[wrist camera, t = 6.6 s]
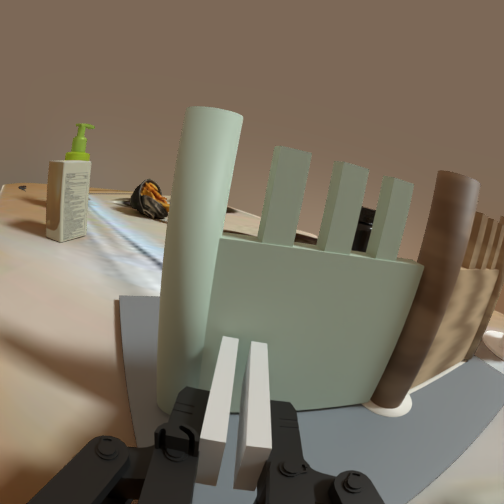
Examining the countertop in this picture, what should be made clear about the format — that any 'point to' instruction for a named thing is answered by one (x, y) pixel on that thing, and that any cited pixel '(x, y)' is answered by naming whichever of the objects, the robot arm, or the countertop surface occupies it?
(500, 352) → the panda figurine
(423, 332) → the fence fixed
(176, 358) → the fence panel
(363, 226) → the supplement bottle
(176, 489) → the robot arm
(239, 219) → the countertop surface
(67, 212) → the skincare box
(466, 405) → the card
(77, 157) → the soap dispenser
